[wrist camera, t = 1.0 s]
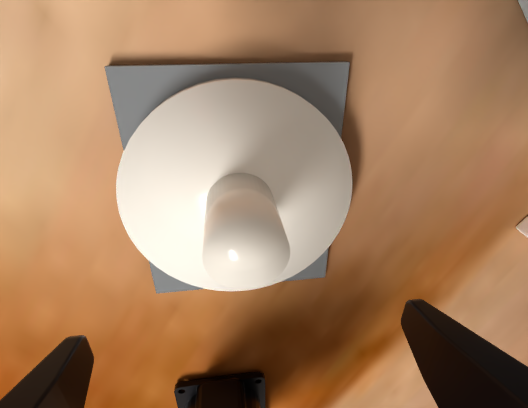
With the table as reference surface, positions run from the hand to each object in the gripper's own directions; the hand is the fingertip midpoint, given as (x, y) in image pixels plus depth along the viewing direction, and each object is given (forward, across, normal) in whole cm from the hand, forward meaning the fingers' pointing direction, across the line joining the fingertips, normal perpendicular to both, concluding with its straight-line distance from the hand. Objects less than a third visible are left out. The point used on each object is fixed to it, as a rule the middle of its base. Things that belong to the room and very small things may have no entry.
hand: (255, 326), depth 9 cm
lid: (+8, 0, 0) cm, 8 cm away
